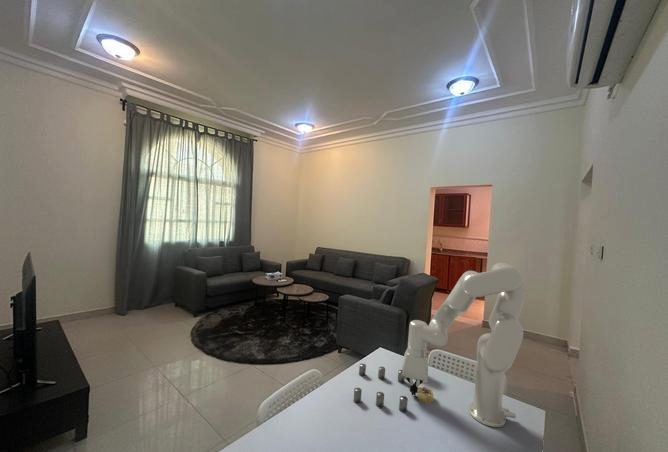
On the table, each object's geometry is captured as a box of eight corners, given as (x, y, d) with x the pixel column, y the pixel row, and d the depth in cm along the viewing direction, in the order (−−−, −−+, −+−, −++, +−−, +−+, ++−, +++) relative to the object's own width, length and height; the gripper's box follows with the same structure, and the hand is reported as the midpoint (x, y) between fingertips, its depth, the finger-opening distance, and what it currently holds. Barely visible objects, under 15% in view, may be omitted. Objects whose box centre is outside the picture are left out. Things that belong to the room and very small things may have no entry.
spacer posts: (404, 380, 131) (404, 370, 130) (407, 412, 108) (407, 401, 108) (359, 372, 135) (360, 363, 135) (353, 402, 112) (353, 391, 112)
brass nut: (427, 392, 122) (427, 385, 122) (436, 401, 116) (437, 394, 116) (413, 395, 120) (414, 388, 120) (422, 404, 114) (422, 396, 114)
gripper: (433, 349, 120) (430, 391, 121) (398, 344, 123) (395, 385, 124) (436, 358, 113) (433, 402, 114) (398, 352, 116) (395, 395, 116)
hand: (413, 393), depth 119 cm, fingers closed
